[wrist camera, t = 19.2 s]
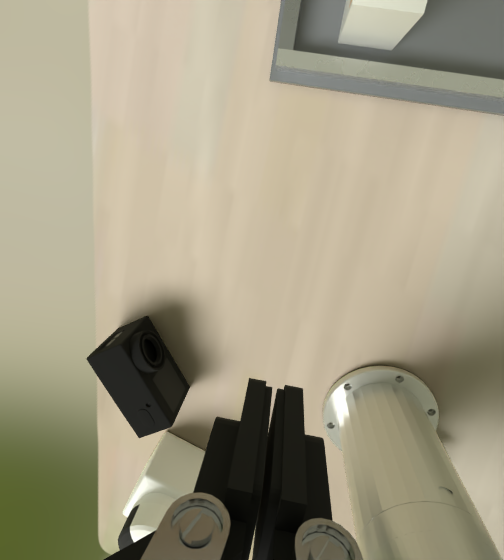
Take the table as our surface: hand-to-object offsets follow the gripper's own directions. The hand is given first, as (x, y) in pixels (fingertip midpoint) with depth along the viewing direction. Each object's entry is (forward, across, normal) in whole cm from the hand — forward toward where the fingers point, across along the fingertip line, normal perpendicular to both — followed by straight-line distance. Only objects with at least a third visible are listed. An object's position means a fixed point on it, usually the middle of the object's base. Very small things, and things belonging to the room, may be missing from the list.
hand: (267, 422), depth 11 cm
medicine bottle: (+27, +8, +31) cm, 42 cm away
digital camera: (+27, +12, +16) cm, 34 cm away
